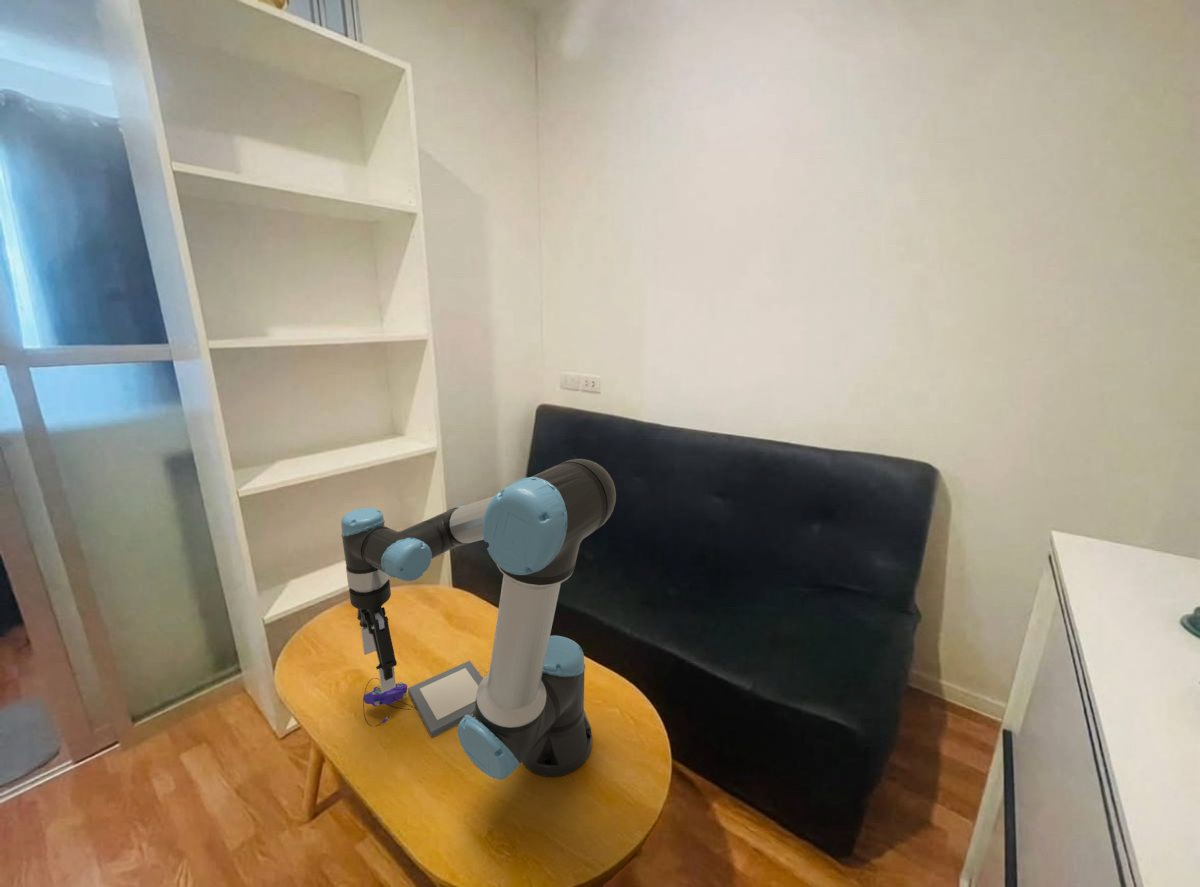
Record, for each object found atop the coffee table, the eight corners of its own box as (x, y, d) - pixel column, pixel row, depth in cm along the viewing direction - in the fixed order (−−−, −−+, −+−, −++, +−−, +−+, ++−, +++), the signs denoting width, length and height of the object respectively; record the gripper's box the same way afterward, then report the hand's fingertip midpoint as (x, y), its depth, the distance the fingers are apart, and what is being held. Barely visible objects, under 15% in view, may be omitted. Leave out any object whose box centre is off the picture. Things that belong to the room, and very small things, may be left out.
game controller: (397, 668, 114) (419, 680, 108) (393, 704, 114) (415, 719, 107) (353, 678, 107) (374, 693, 100) (349, 717, 106) (370, 734, 100)
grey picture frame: (497, 703, 109) (497, 697, 109) (431, 737, 100) (431, 731, 100) (470, 665, 121) (469, 659, 120) (408, 693, 112) (407, 687, 111)
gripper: (408, 606, 92) (416, 697, 98) (372, 552, 110) (381, 632, 116) (365, 621, 87) (376, 716, 93) (335, 562, 106) (346, 644, 112)
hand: (379, 669), depth 105 cm, fingers open, 13 cm apart
